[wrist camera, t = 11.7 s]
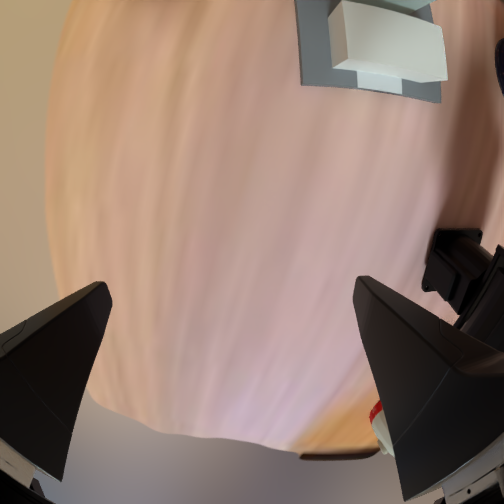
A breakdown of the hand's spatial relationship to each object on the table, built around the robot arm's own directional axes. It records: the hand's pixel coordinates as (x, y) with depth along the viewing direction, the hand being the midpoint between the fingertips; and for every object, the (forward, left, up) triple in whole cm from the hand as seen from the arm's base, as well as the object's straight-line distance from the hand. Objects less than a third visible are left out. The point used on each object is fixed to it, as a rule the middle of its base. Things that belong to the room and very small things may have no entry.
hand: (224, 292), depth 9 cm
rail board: (-10, -18, -12) cm, 24 cm away
